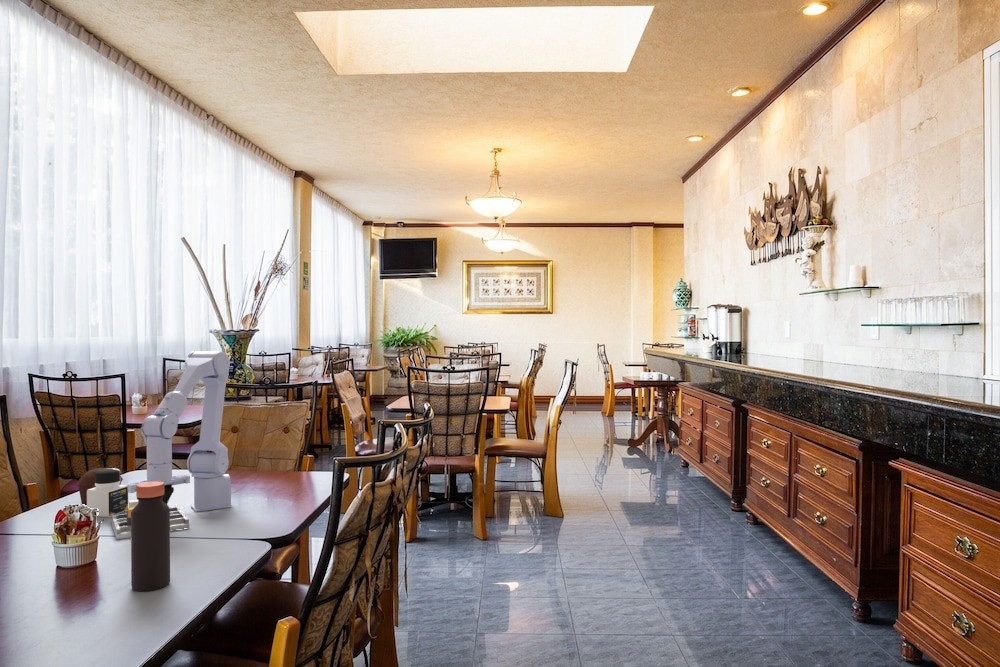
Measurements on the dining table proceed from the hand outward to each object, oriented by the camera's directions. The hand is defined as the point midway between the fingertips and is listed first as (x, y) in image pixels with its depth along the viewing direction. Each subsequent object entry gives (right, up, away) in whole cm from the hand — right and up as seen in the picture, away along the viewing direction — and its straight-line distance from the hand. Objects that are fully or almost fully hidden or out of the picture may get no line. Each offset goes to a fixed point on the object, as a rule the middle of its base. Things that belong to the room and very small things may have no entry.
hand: (159, 516), depth 172 cm
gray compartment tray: (-4, -3, +2) cm, 5 cm away
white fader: (-8, -2, +4) cm, 9 cm away
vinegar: (+18, -3, -39) cm, 43 cm away
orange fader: (-5, -2, -3) cm, 6 cm away
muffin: (-29, -3, +24) cm, 38 cm away
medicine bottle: (-21, -3, +13) cm, 25 cm away
